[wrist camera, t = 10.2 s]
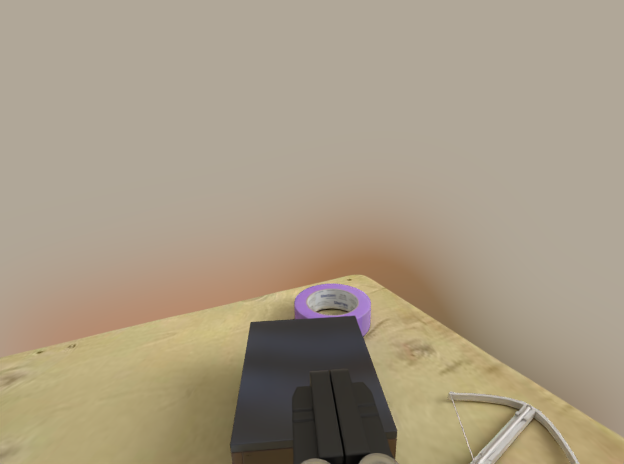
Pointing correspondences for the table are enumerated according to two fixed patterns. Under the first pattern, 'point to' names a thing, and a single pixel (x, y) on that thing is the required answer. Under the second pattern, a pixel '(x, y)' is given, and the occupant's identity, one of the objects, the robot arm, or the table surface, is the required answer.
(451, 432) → the table surface
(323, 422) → the robot arm
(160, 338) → the table surface
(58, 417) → the table surface
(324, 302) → the tape roll
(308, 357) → the case lid
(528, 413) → the crossbow
